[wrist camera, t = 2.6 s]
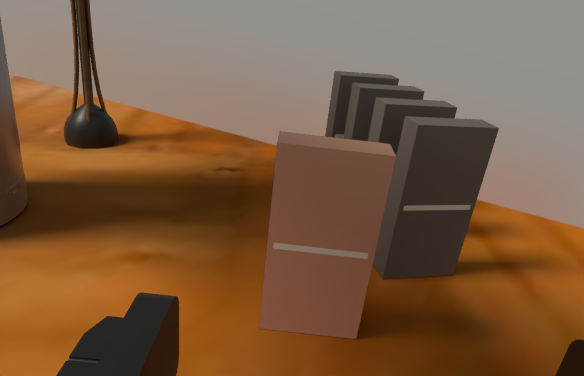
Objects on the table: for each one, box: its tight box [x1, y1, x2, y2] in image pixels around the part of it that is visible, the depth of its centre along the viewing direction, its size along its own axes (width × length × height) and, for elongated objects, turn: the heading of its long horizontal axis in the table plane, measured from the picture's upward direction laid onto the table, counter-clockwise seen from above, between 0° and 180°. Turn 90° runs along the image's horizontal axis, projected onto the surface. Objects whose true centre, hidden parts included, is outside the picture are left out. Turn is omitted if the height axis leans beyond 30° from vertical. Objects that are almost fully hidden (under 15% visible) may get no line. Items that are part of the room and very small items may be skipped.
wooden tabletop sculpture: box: [64, 0, 118, 148], centre depth 40 cm, size 6×5×20 cm
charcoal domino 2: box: [343, 83, 424, 141], centre depth 35 cm, size 2×5×10 cm, turn 103°
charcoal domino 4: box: [373, 116, 499, 279], centre depth 27 cm, size 2×5×10 cm, turn 103°
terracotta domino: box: [259, 131, 396, 339], centre depth 21 cm, size 2×5×10 cm, turn 88°
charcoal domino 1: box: [325, 71, 399, 139], centre depth 38 cm, size 2×5×10 cm, turn 103°
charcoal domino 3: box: [368, 97, 457, 238], centre depth 31 cm, size 2×5×10 cm, turn 103°
